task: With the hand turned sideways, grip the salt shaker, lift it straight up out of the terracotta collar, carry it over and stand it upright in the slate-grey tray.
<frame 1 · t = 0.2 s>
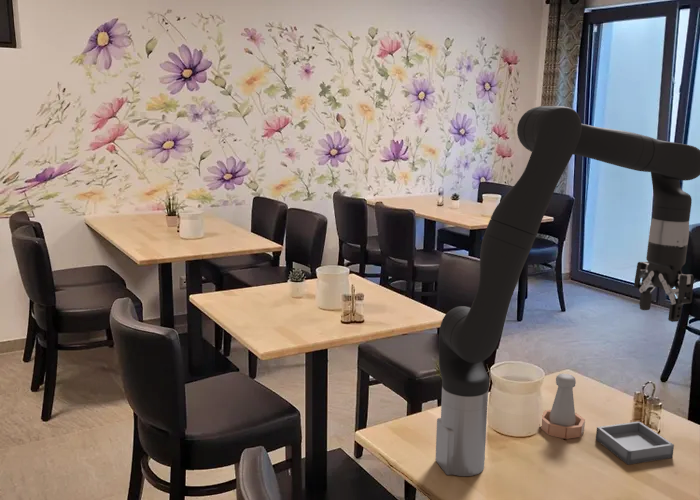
hand: (658, 315, 146), 29 cm above the table, tool pointing down, fingers open, 8 cm apart
salt shaker: (561, 429, 156), resting in collar
tray: (633, 448, 148), on the table
collar: (561, 428, 156), on the table
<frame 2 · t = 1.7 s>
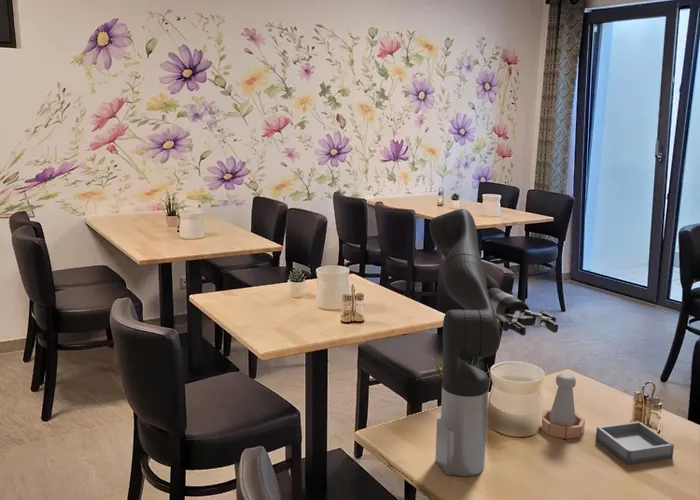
hand: (540, 330, 163), 20 cm above the table, tool horizontal, fingers open, 8 cm apart
nothing on the table moved.
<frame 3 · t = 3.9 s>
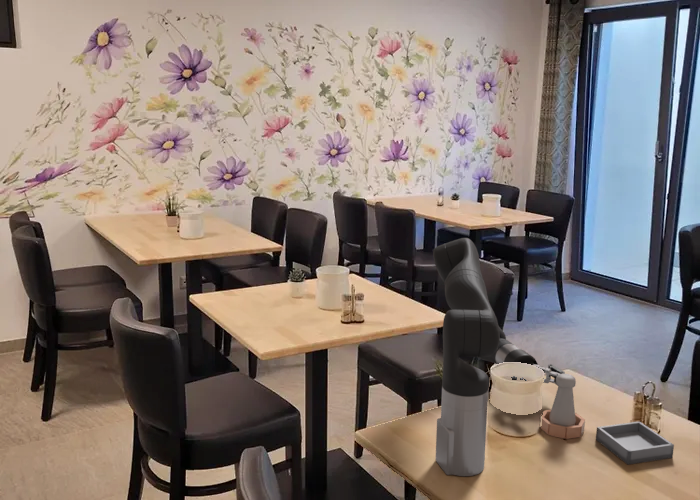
hand: (549, 387, 160), 7 cm above the table, tool horizontal, fingers open, 8 cm apart
nothing on the table moved.
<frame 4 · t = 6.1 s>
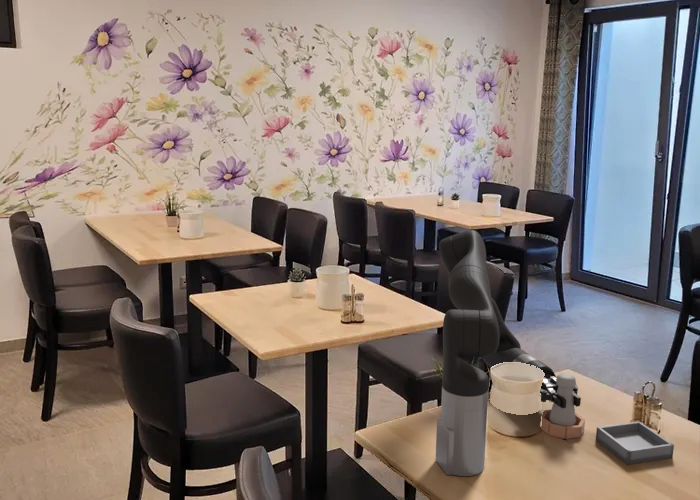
hand: (571, 403, 152), 8 cm above the table, tool horizontal, fingers closed on salt shaker, 3 cm apart
salt shaker: (561, 429, 156), resting in collar, touching gripper
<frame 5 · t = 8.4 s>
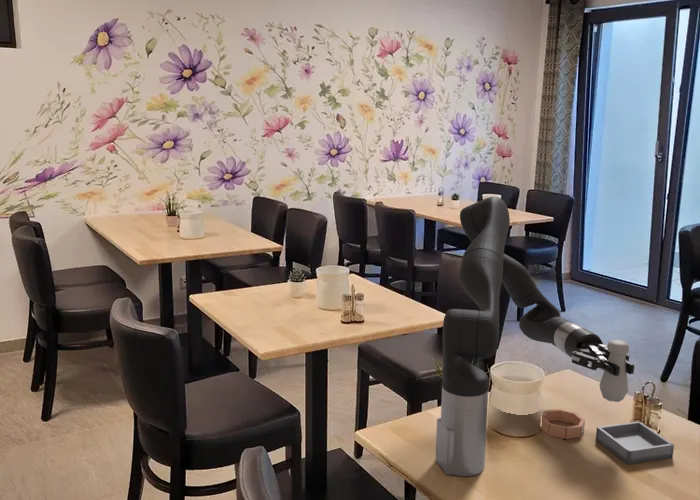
hand: (625, 370, 144), 18 cm above the table, tool horizontal, fingers closed on salt shaker, 3 cm apart
salt shaker: (612, 398, 149), point 10 cm above the table, touching gripper
when the fingers open (10 cm above the table, at t = 10.5 s): salt shaker drops 1 cm, resting on tray.
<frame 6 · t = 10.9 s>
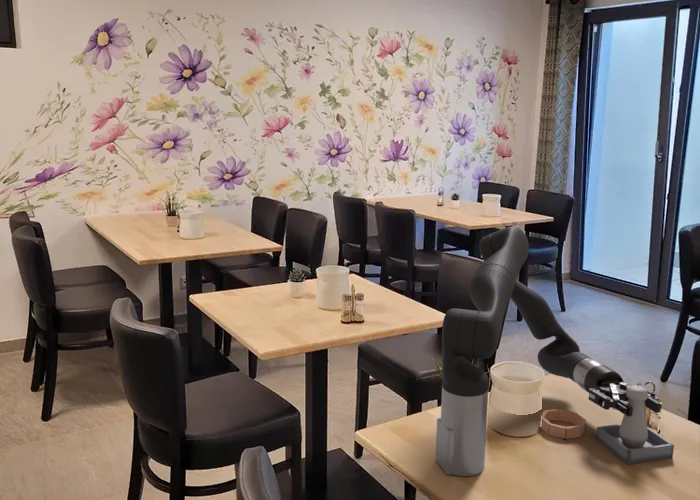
hand: (645, 410, 143), 10 cm above the table, tool horizontal, fingers open, 6 cm apart
salt shaker: (632, 444, 147), point 1 cm above the table, touching tray
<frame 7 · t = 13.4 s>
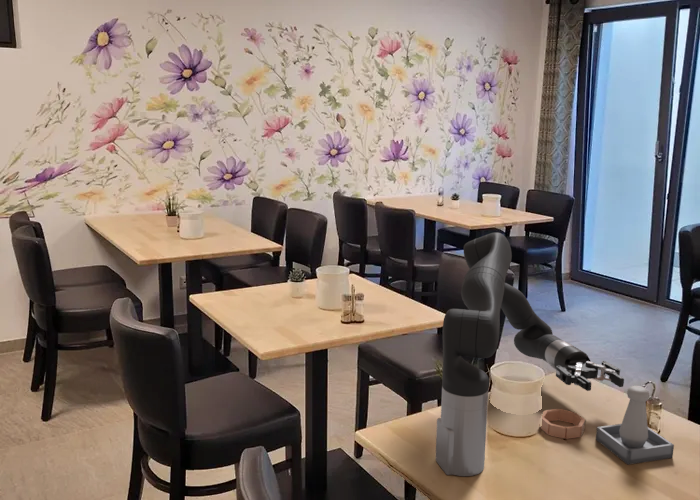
hand: (606, 385, 156), 10 cm above the table, tool horizontal, fingers open, 8 cm apart
nothing on the table moved.
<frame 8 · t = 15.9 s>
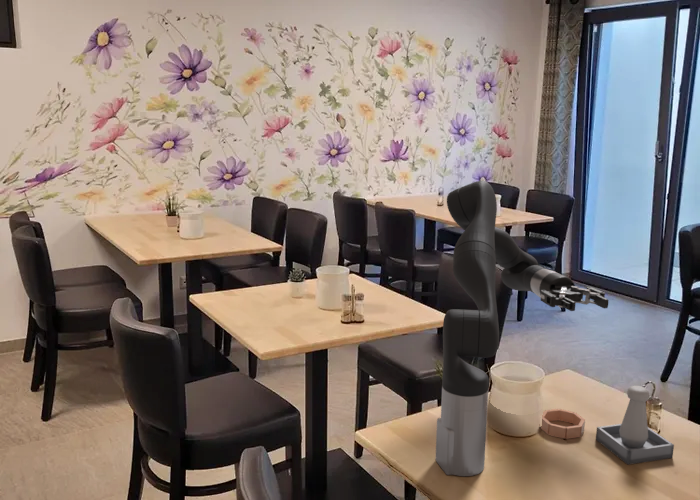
hand: (590, 305, 155), 28 cm above the table, tool horizontal, fingers open, 8 cm apart
nothing on the table moved.
at the end: salt shaker 0.2 cm off-centre on the tray, point 0.8 cm above the tray's base; salt shaker tilted 0°; the gripper is holding nothing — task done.
